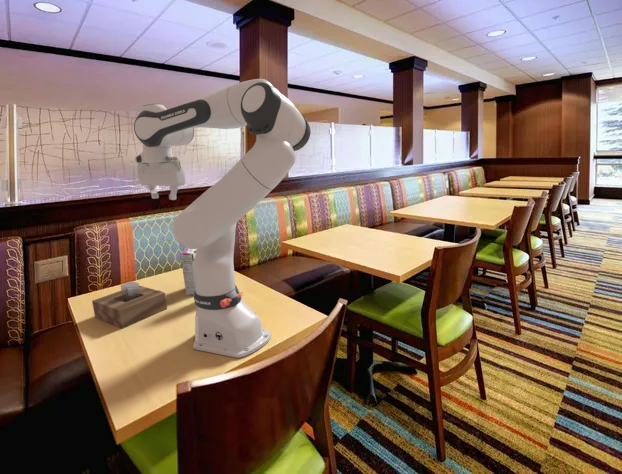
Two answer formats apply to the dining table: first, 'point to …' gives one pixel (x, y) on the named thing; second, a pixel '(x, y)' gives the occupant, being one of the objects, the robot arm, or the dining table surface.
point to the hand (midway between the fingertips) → (164, 199)
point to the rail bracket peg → (130, 291)
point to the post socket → (129, 307)
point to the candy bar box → (188, 270)
